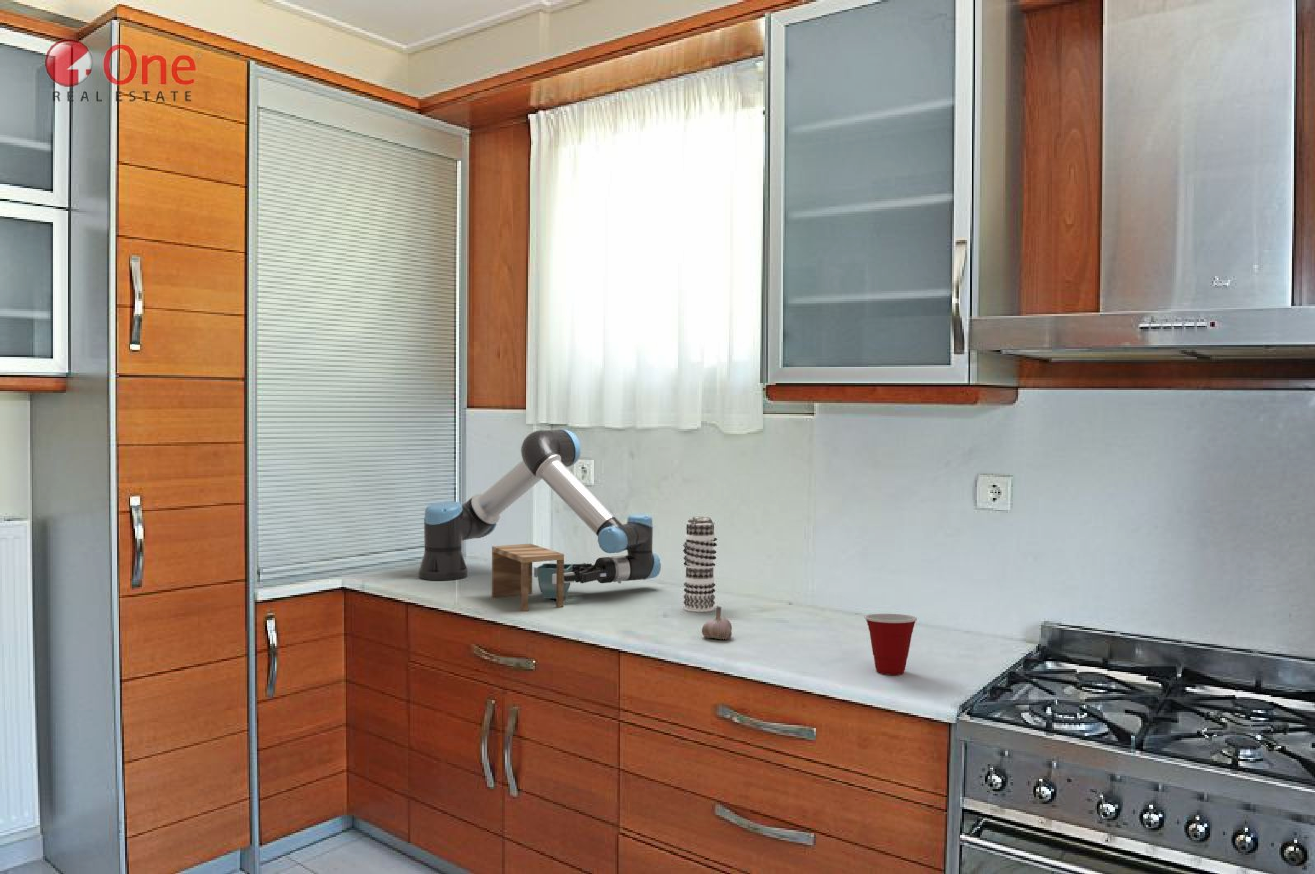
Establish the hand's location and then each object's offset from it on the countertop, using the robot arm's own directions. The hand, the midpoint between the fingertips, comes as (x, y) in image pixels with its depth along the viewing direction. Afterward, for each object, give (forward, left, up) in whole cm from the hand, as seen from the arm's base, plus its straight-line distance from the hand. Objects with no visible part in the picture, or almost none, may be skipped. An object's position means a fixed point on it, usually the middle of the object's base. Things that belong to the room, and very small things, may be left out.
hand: (543, 575), depth 275 cm
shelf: (0, -5, -7) cm, 8 cm away
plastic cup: (+103, +33, -7) cm, 108 cm away
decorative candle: (+31, +33, -7) cm, 45 cm away
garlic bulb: (+61, +18, -7) cm, 63 cm away
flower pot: (0, +4, -7) cm, 8 cm away
